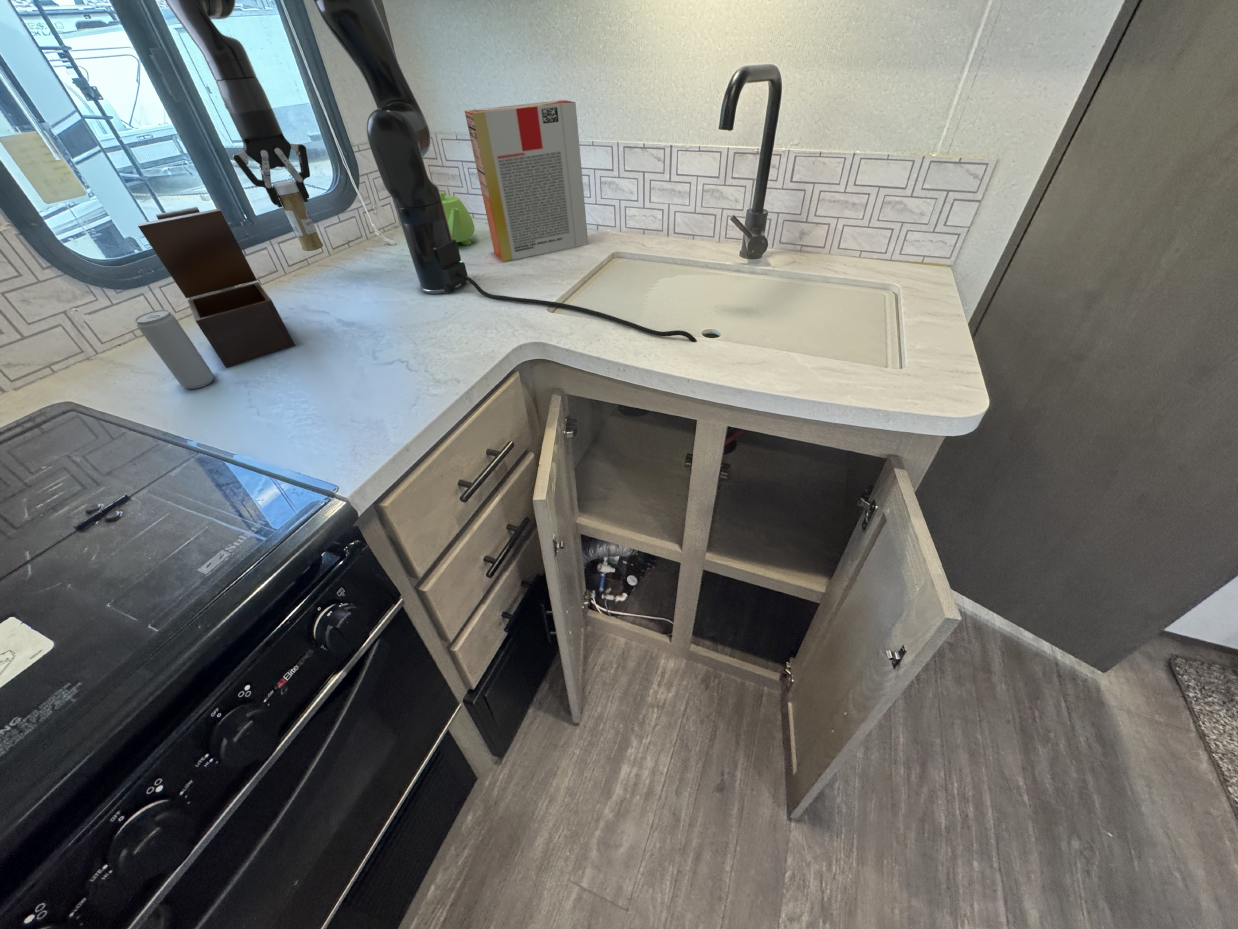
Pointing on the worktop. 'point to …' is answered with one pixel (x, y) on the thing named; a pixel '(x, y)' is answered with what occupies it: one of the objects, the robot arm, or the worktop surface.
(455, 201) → the teapot
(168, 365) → the beverage can
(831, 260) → the worktop surface
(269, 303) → the chest
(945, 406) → the worktop surface
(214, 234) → the lid
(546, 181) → the pasta box
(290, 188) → the sprinkles bottle
